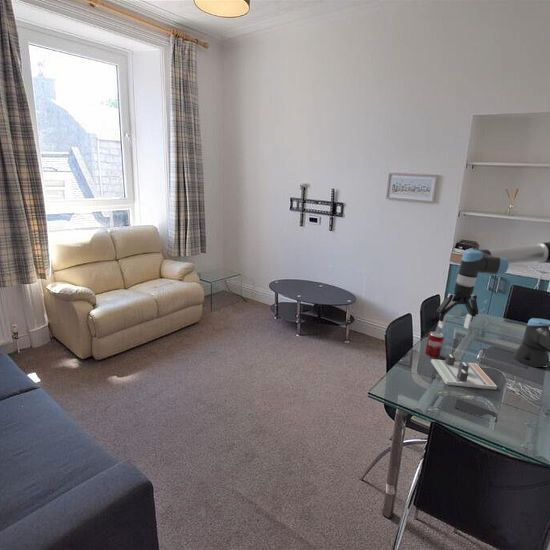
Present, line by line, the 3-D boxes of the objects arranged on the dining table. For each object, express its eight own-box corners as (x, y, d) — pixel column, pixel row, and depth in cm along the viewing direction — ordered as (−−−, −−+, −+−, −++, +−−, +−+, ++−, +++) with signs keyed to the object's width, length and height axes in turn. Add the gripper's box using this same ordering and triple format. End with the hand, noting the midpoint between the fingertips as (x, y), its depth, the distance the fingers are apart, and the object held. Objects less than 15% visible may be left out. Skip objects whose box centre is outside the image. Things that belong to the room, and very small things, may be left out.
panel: (475, 366, 184) (476, 362, 183) (496, 389, 165) (497, 385, 164) (430, 361, 185) (431, 358, 184) (446, 384, 165) (447, 380, 165)
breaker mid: (464, 370, 176) (466, 362, 174) (467, 373, 173) (469, 365, 171) (458, 369, 176) (460, 362, 174) (460, 373, 173) (462, 365, 172)
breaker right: (463, 377, 169) (465, 369, 168) (466, 381, 166) (468, 373, 165) (456, 377, 169) (458, 369, 168) (459, 380, 166) (461, 372, 165)
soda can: (440, 360, 187) (446, 338, 184) (425, 357, 188) (430, 336, 185) (437, 353, 194) (442, 332, 190) (423, 351, 195) (427, 330, 192)
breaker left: (451, 362, 182) (452, 354, 181) (453, 365, 179) (455, 357, 178) (444, 361, 182) (446, 353, 181) (447, 364, 180) (449, 357, 178)
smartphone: (496, 422, 142) (454, 406, 149) (495, 424, 142) (453, 408, 149) (496, 412, 148) (456, 397, 155) (496, 414, 148) (455, 399, 155)
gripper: (482, 282, 171) (471, 324, 178) (435, 280, 166) (424, 323, 172) (495, 288, 164) (482, 331, 171) (445, 286, 159) (434, 330, 165)
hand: (453, 327), depth 171 cm, fingers open, 13 cm apart
